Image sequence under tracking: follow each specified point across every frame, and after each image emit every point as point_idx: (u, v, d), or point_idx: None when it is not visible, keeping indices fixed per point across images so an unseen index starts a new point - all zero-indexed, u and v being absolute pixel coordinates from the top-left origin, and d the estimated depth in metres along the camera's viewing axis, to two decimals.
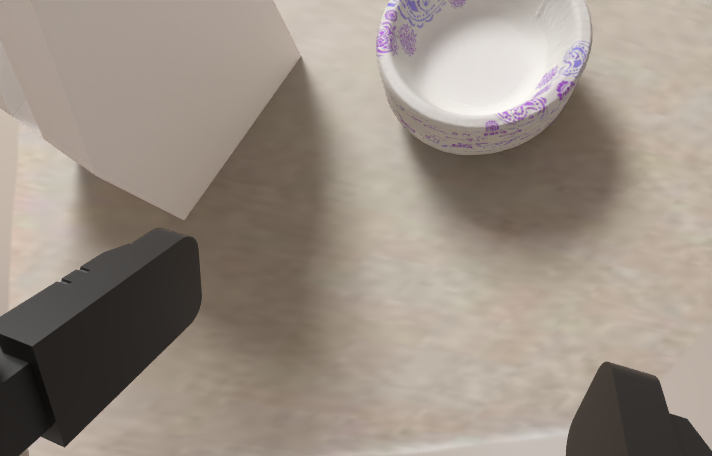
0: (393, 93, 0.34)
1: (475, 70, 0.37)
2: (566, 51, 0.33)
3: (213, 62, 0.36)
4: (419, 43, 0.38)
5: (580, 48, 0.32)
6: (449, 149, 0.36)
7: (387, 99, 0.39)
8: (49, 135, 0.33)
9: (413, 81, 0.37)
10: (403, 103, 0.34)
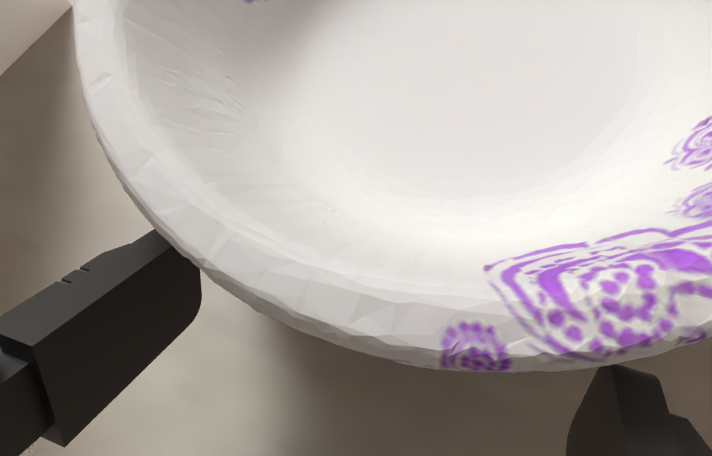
0: None
1: (453, 70, 0.11)
2: None
3: None
4: None
5: None
6: None
7: None
8: None
9: (237, 82, 0.11)
10: (111, 164, 0.08)
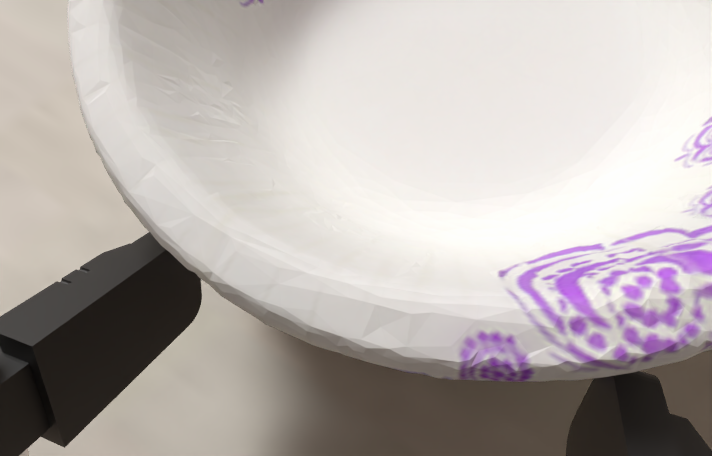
0: None
1: (456, 70, 0.11)
2: None
3: None
4: None
5: None
6: None
7: None
8: None
9: (236, 87, 0.11)
10: (111, 176, 0.08)
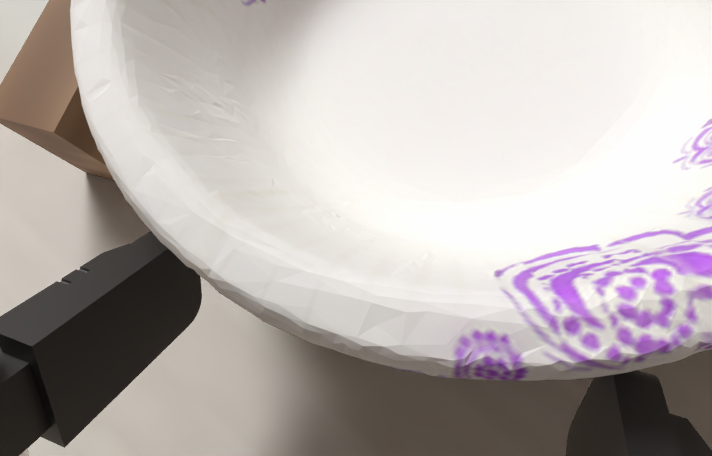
0: (88, 124, 0.08)
1: (456, 71, 0.11)
2: None
3: None
4: None
5: None
6: None
7: None
8: None
9: (237, 86, 0.11)
10: (112, 173, 0.08)
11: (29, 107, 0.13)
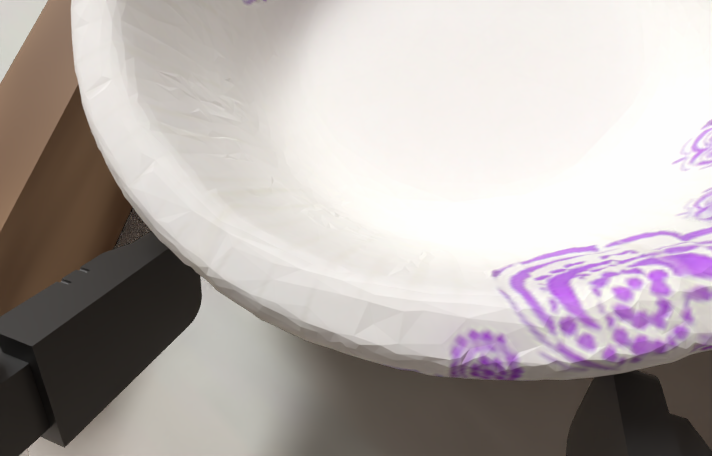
0: (88, 122, 0.08)
1: (456, 70, 0.11)
2: None
3: None
4: None
5: None
6: None
7: None
8: None
9: (238, 85, 0.11)
10: (111, 171, 0.08)
11: None
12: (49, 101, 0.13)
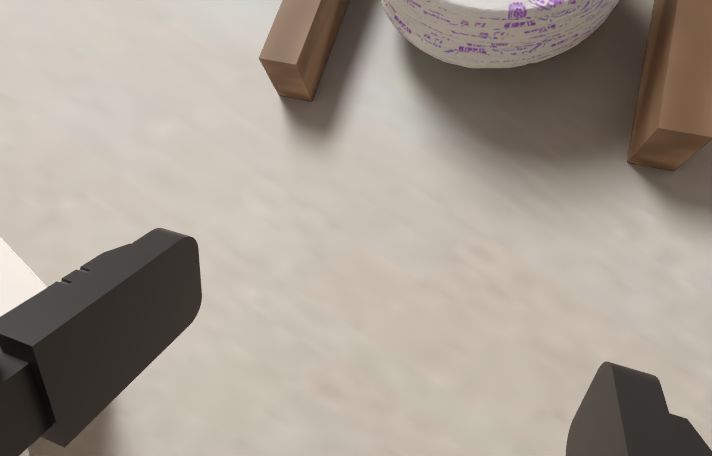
0: None
1: None
2: None
3: None
4: None
5: None
6: (454, 57, 0.27)
7: None
8: None
9: None
10: None
11: (281, 54, 0.29)
12: None
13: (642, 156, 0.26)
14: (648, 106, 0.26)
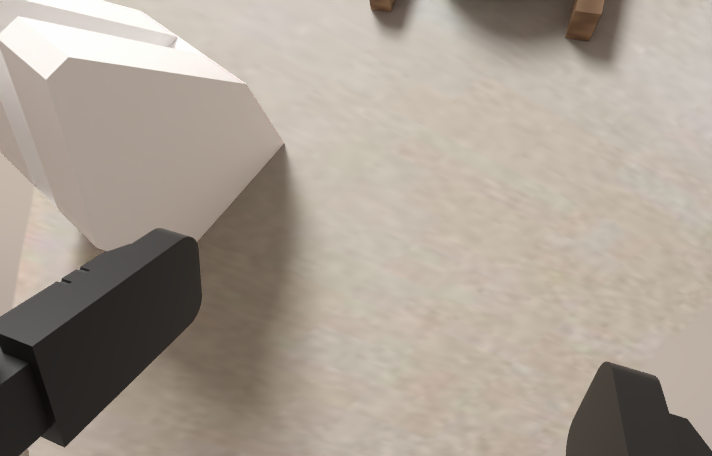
0: None
1: None
2: None
3: (204, 157, 0.44)
4: None
5: None
6: None
7: None
8: (63, 209, 0.41)
9: None
10: None
11: None
12: None
13: (571, 32, 0.51)
14: (574, 5, 0.50)
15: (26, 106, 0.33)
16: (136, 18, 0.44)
